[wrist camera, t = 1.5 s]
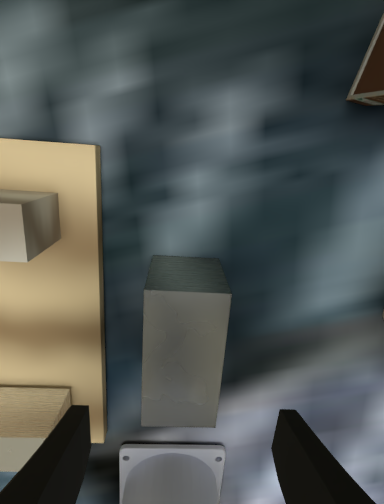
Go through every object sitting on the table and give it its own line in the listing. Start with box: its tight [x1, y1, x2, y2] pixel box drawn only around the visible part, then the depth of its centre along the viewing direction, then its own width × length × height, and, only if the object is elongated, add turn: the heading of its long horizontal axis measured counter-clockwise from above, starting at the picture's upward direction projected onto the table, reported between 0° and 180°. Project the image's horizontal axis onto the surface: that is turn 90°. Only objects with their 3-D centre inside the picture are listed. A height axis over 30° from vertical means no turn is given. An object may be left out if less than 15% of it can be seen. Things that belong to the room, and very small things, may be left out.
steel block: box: [141, 255, 232, 428], centre depth 17 cm, size 8×4×5 cm, turn 176°
